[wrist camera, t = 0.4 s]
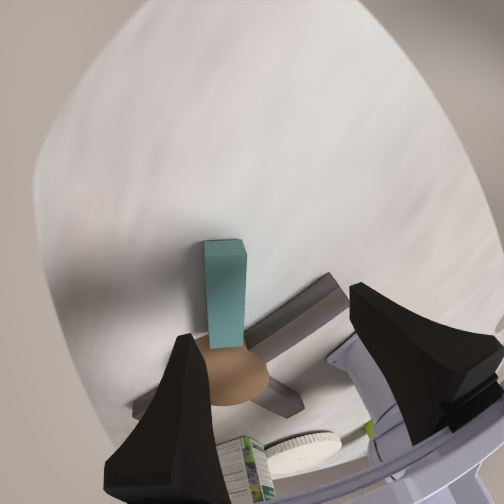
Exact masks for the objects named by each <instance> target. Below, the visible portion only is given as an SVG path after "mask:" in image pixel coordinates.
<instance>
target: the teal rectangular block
mask: <svg viewBox="0 0 504 504" xmlns="http://www.w3.org/2000/svg"><path fill="white" fill-rule="evenodd" d="M204 258H205V284H206V304H207V322H208V335H209V343H210V349H215V348H227V347H238V346H243V334H244V311H245V288H246V266H247V253H246V250H245V247H244V244H243V242H242V240H222V241H204Z"/></svg>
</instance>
